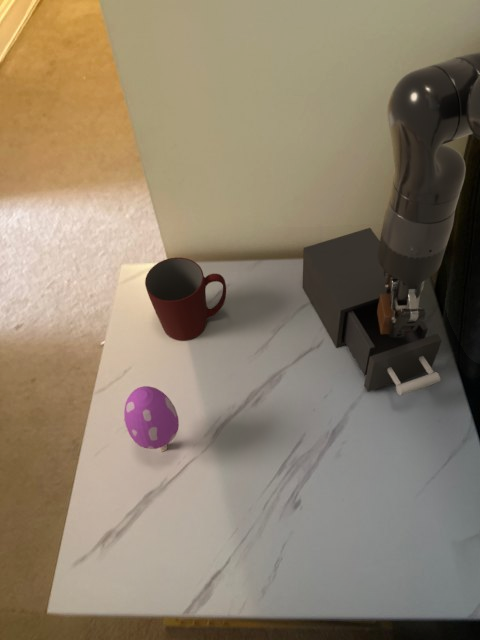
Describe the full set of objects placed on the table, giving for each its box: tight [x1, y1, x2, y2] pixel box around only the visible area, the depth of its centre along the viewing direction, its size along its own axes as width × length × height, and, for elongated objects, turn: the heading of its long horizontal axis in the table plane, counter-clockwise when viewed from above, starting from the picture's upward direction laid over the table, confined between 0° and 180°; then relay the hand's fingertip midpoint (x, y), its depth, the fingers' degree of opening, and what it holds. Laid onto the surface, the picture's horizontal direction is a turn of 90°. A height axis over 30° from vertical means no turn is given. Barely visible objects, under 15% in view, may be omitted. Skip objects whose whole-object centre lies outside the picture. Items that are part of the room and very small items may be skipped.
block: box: [377, 294, 411, 334], centre depth 77 cm, size 4×4×4 cm
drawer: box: [342, 301, 443, 396], centre depth 82 cm, size 17×10×8 cm, turn 19°
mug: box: [144, 257, 227, 342], centre depth 89 cm, size 12×9×11 cm
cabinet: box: [301, 227, 386, 349], centre depth 89 cm, size 14×12×10 cm
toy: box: [123, 385, 180, 452], centre depth 74 cm, size 7×7×15 cm
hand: (393, 321), depth 79 cm, fingers closed on block, 4 cm apart
